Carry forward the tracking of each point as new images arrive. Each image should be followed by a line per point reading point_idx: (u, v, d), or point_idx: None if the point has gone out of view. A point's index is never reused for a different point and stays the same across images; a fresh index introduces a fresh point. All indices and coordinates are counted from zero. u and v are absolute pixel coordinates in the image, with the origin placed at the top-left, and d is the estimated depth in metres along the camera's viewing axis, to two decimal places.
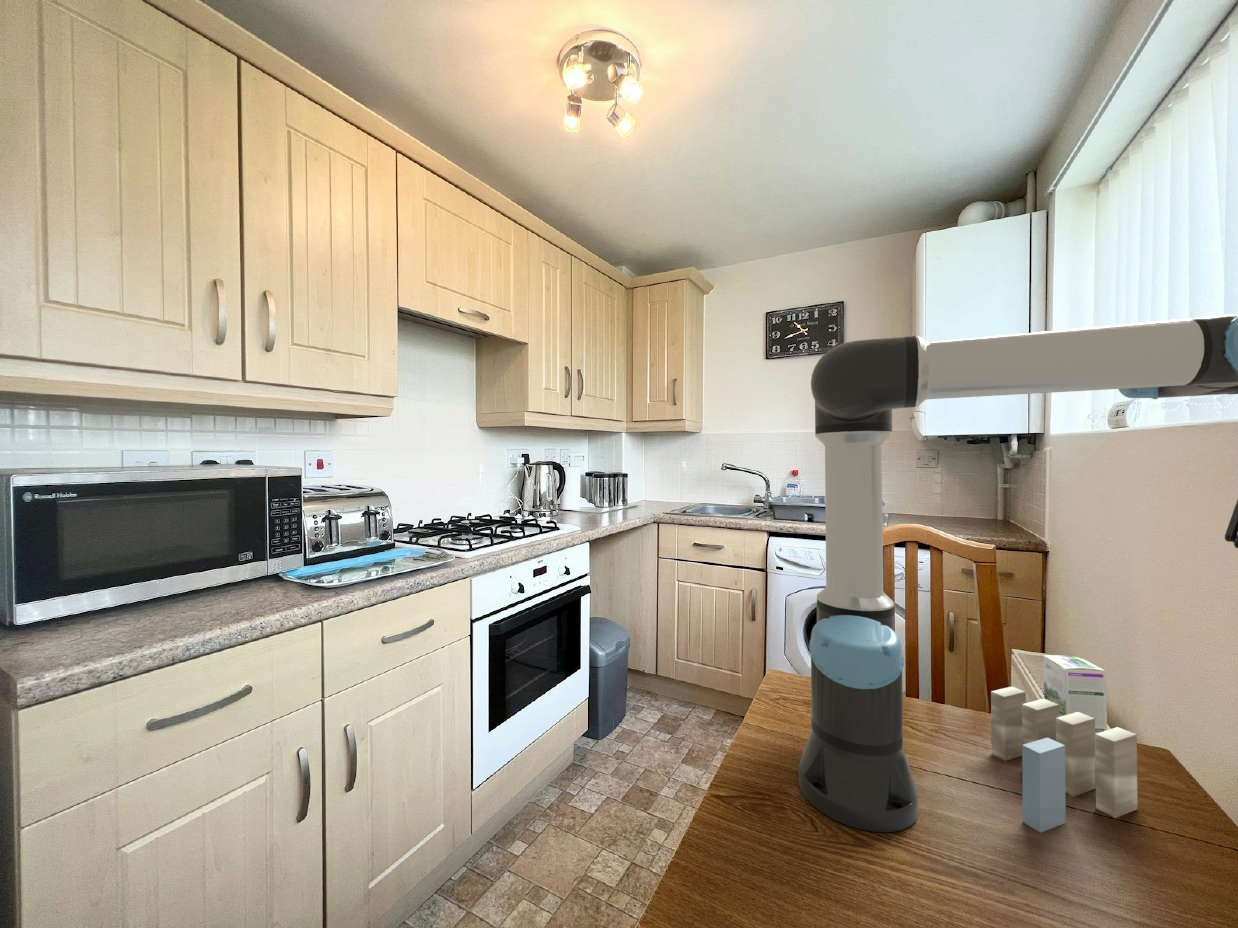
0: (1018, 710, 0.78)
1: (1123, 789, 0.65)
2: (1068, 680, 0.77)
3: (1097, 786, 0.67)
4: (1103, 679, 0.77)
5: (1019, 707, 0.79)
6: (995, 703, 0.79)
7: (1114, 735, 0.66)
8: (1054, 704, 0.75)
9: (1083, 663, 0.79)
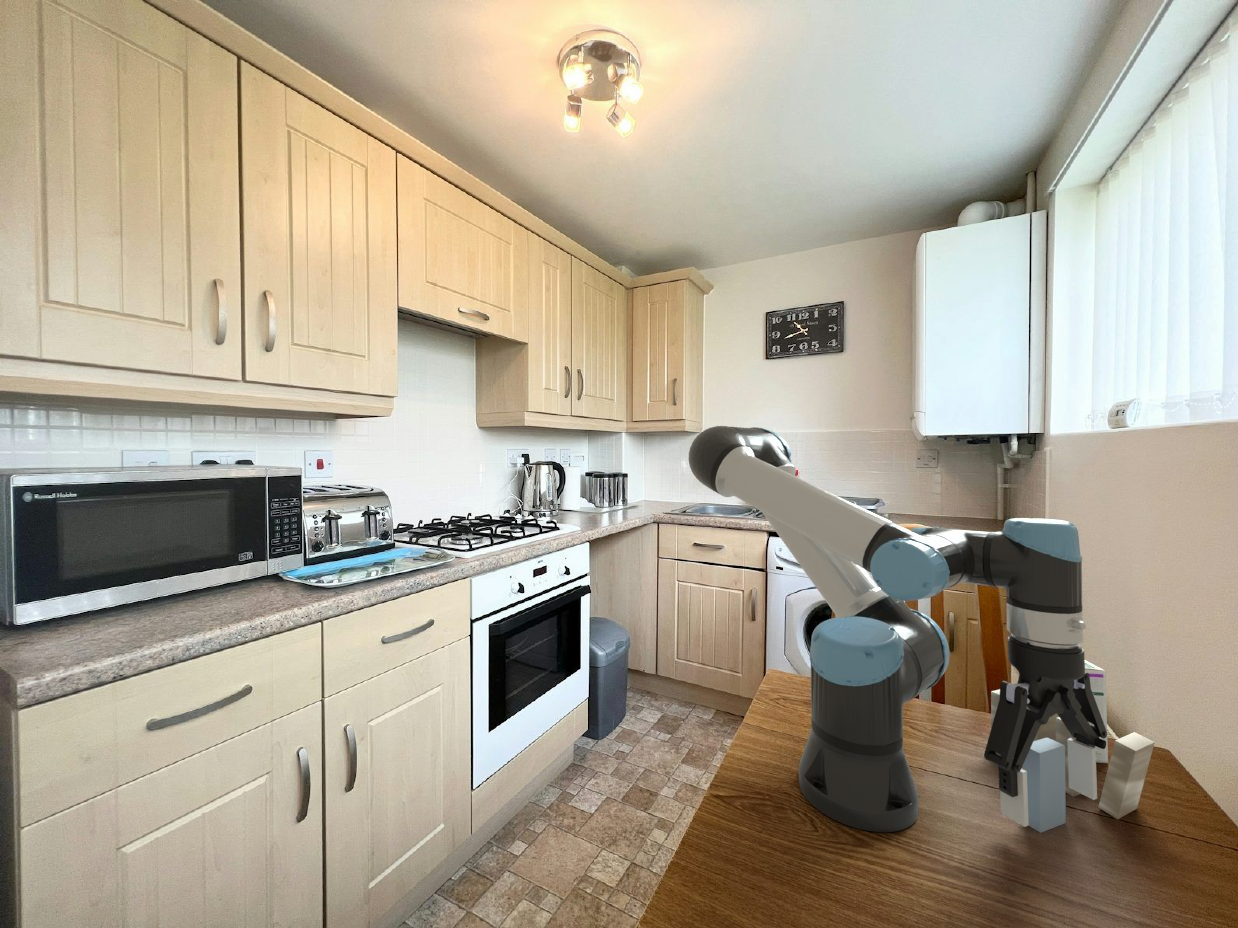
0: None
1: (1130, 793, 0.65)
2: None
3: (1104, 788, 0.66)
4: (1103, 679, 0.77)
5: None
6: (995, 703, 0.79)
7: (1134, 743, 0.64)
8: None
9: None
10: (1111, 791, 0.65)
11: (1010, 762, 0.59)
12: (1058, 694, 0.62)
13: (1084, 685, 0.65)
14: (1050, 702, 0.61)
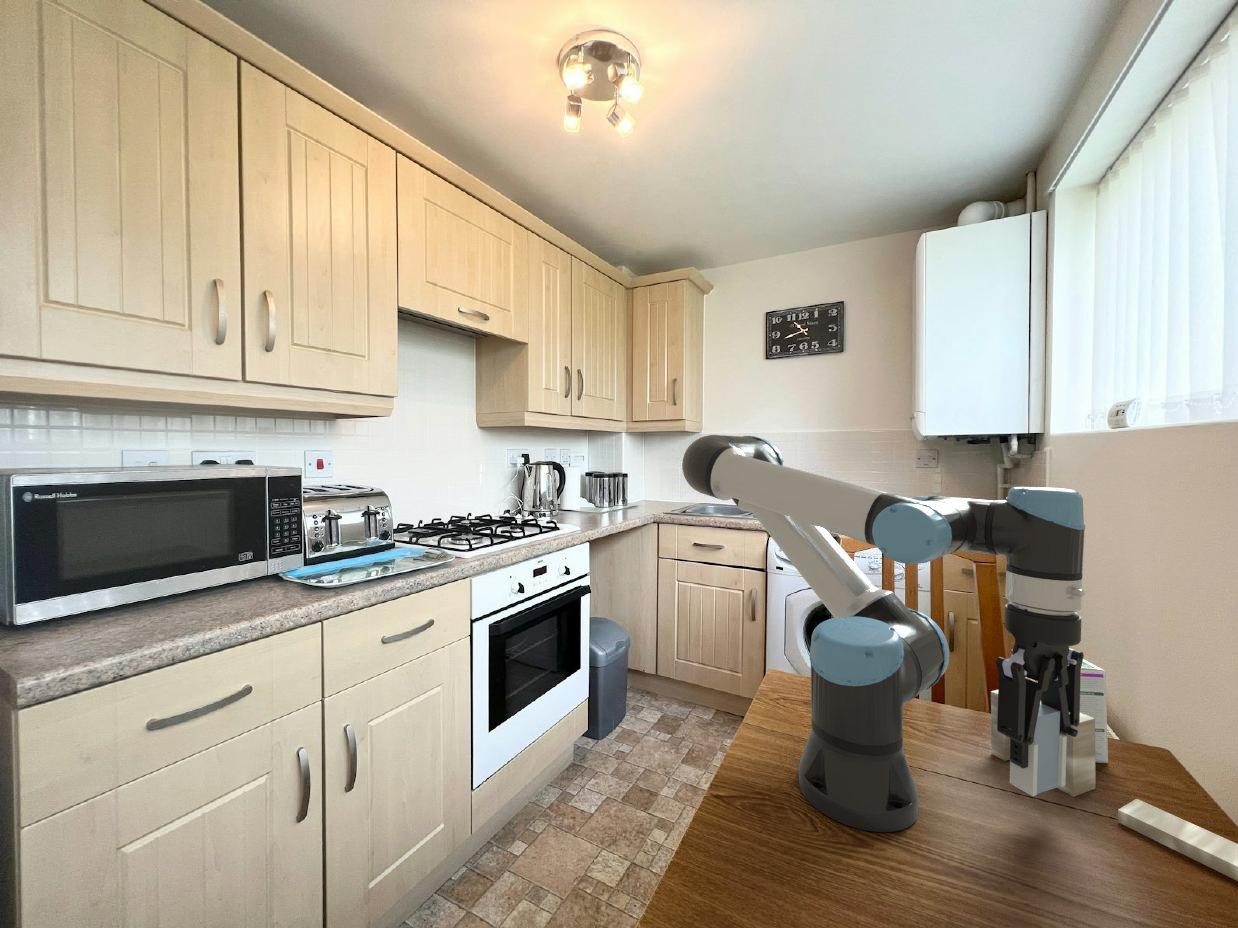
0: None
1: None
2: None
3: (1150, 825, 0.61)
4: (1103, 679, 0.77)
5: None
6: (995, 703, 0.79)
7: None
8: None
9: (1083, 663, 0.79)
10: (1151, 831, 0.61)
11: (1022, 734, 0.61)
12: (1052, 660, 0.62)
13: (1076, 662, 0.65)
14: (1046, 670, 0.62)
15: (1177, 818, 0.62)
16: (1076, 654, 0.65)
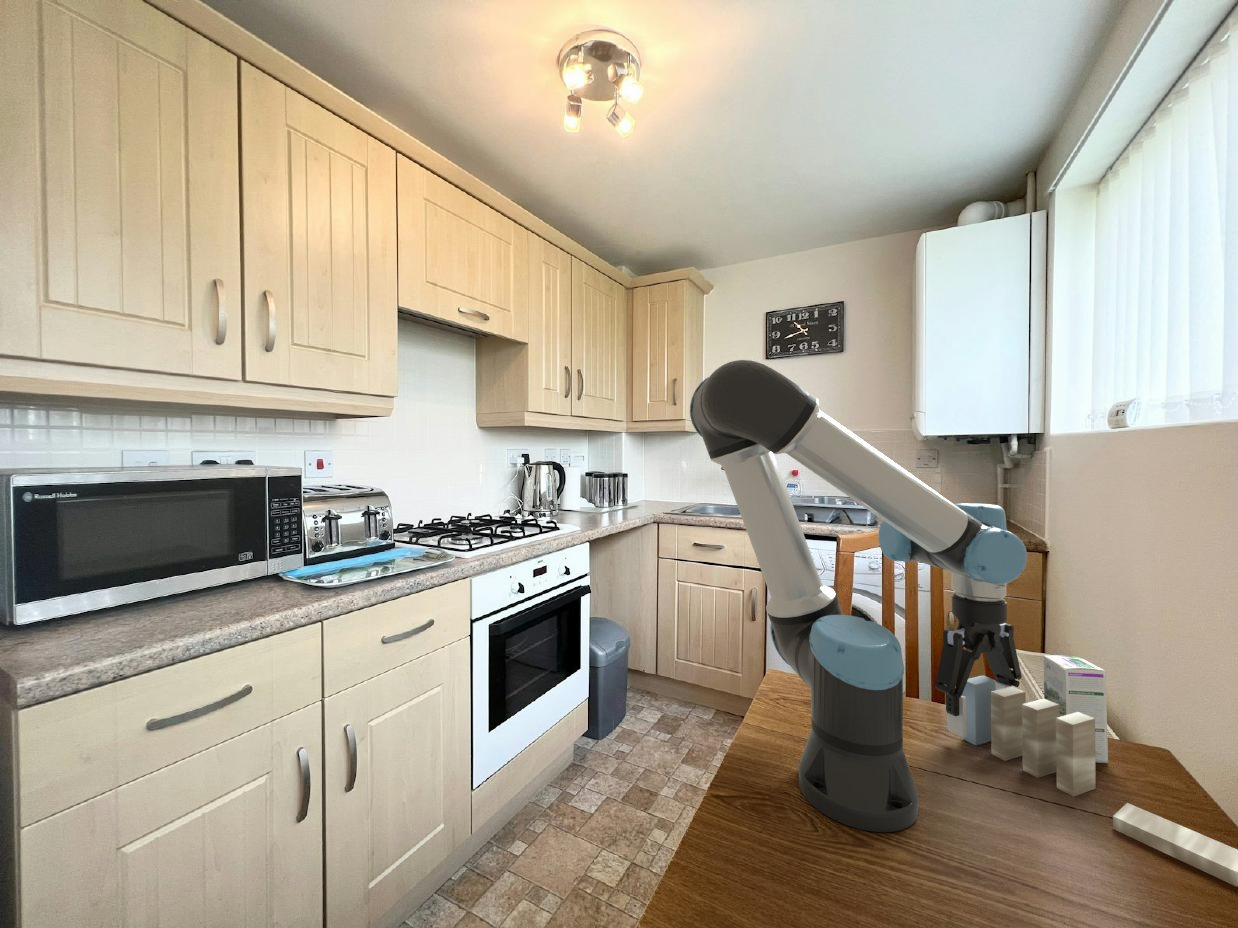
0: (1017, 710, 0.78)
1: None
2: (1068, 680, 0.77)
3: (1146, 832, 0.60)
4: (1103, 679, 0.77)
5: (1019, 707, 0.79)
6: (995, 703, 0.79)
7: None
8: (1054, 704, 0.75)
9: (1083, 663, 0.79)
10: (1147, 838, 0.60)
11: (953, 689, 0.80)
12: (986, 636, 0.81)
13: (1008, 634, 0.84)
14: (980, 642, 0.81)
15: (1169, 822, 0.62)
16: (1007, 628, 0.84)
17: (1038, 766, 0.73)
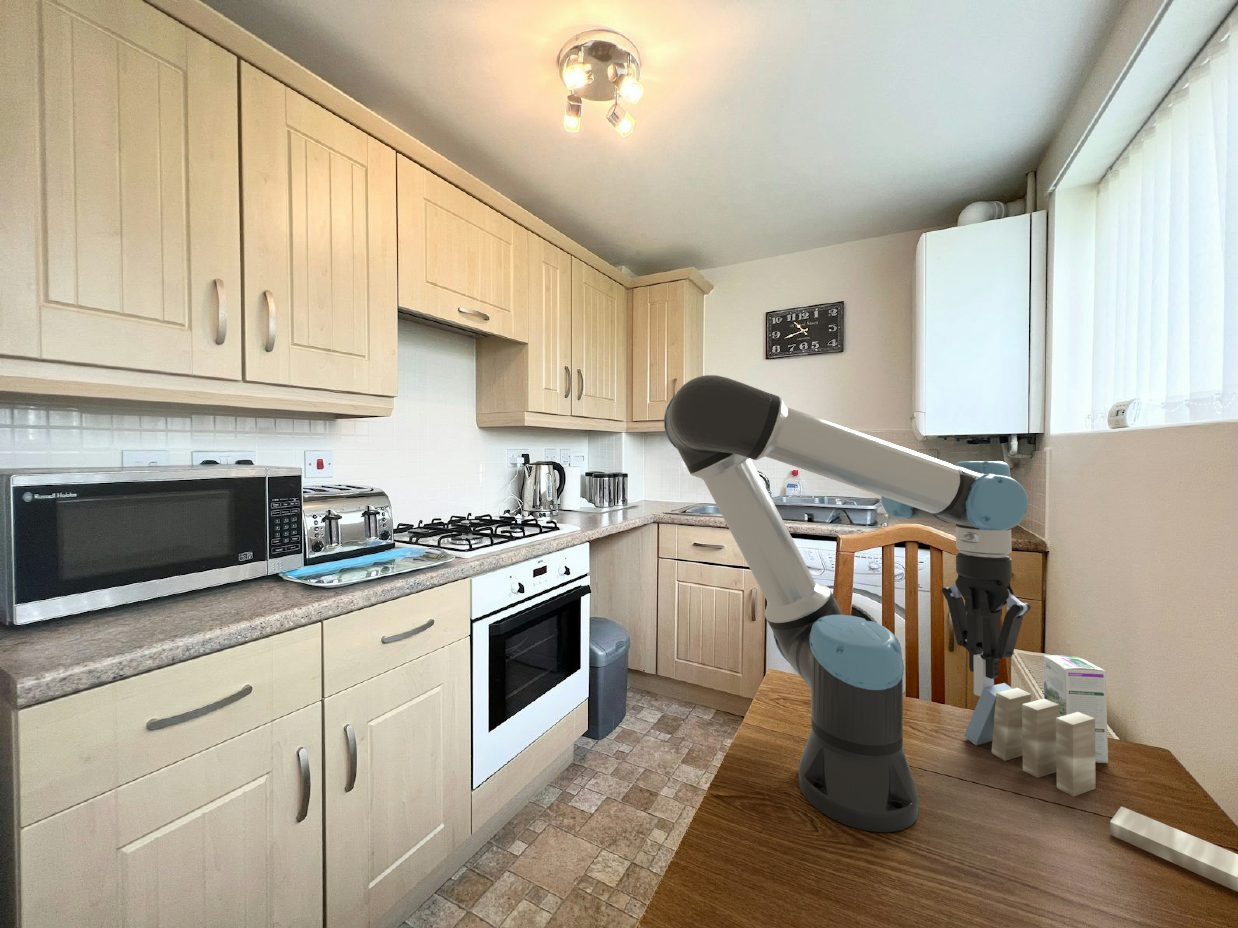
0: None
1: None
2: (1068, 680, 0.77)
3: (1144, 837, 0.59)
4: (1103, 679, 0.77)
5: None
6: (1000, 704, 0.78)
7: None
8: (1054, 704, 0.75)
9: (1083, 663, 0.79)
10: (1145, 843, 0.59)
11: (960, 640, 0.85)
12: (967, 588, 0.83)
13: (1009, 609, 0.78)
14: (965, 596, 0.84)
15: (1164, 825, 0.61)
16: (1014, 604, 0.78)
17: (1038, 766, 0.73)
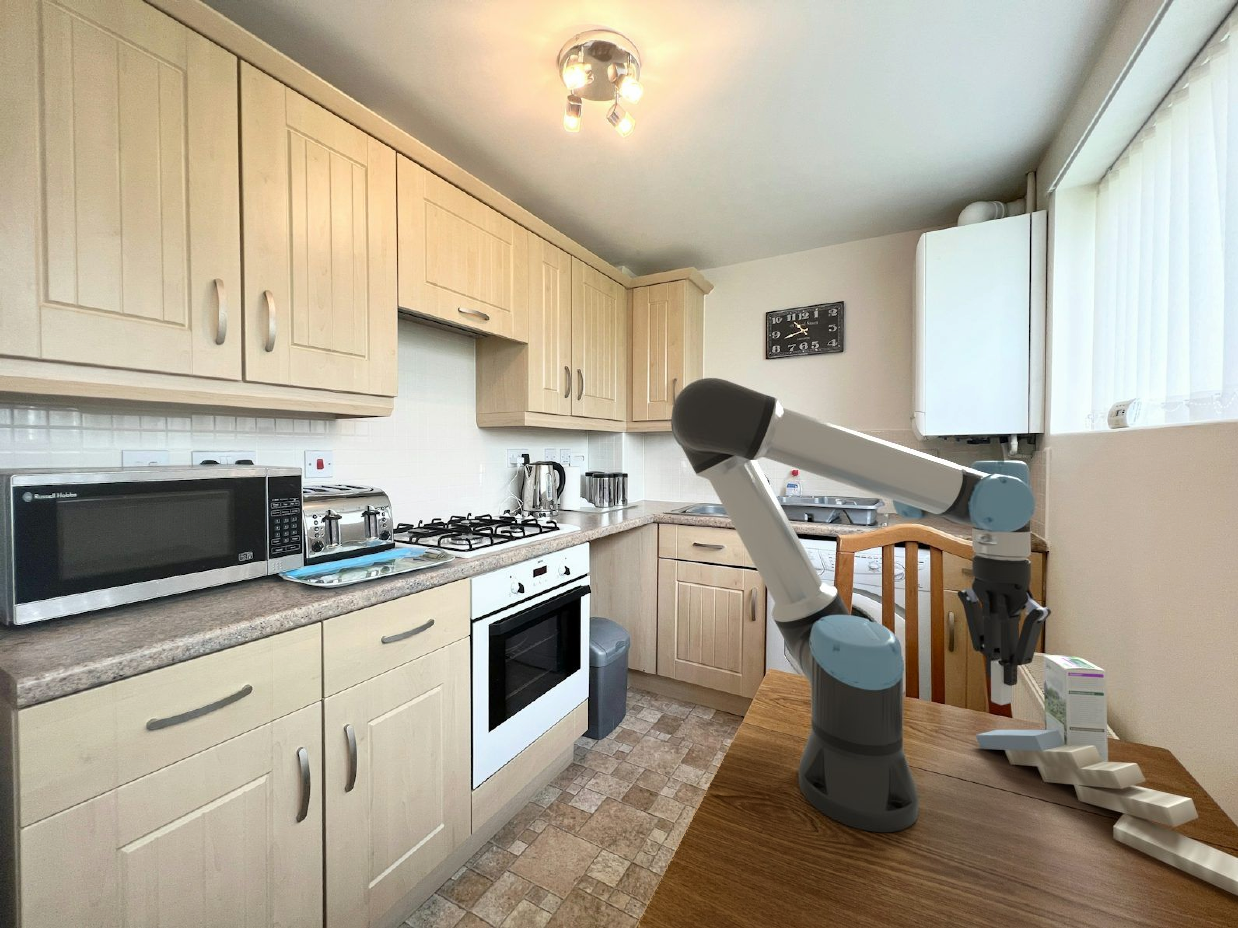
0: None
1: None
2: (1068, 680, 0.77)
3: (1148, 842, 0.59)
4: (1103, 679, 0.77)
5: None
6: (1061, 757, 0.70)
7: None
8: (1141, 779, 0.65)
9: (1083, 663, 0.79)
10: (1149, 849, 0.59)
11: (977, 645, 0.82)
12: (984, 592, 0.81)
13: (1028, 613, 0.75)
14: (982, 600, 0.81)
15: (1169, 830, 0.60)
16: (1033, 609, 0.75)
17: (1056, 782, 0.71)
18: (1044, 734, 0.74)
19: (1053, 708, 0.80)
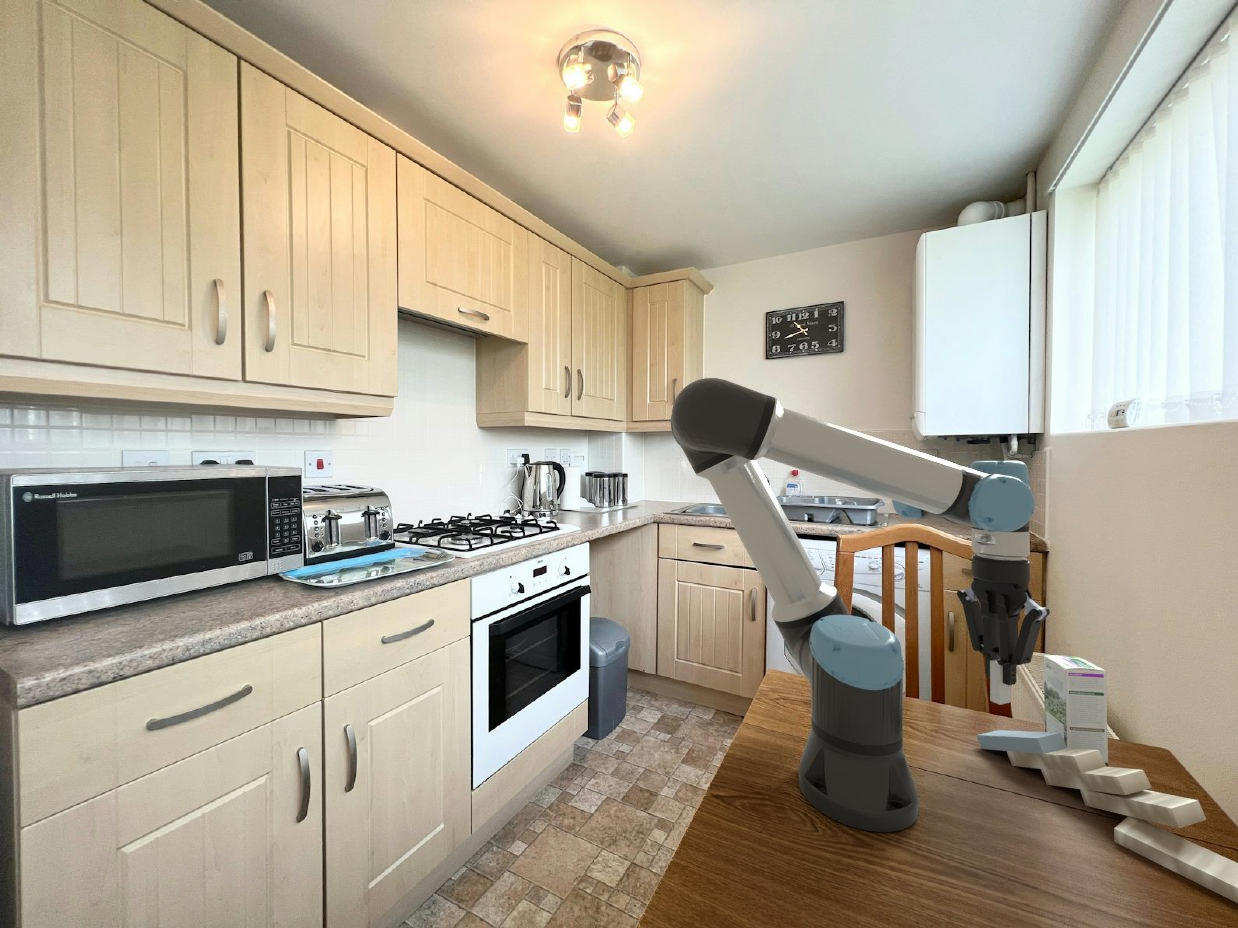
0: None
1: None
2: (1068, 680, 0.77)
3: (1148, 845, 0.58)
4: (1103, 679, 0.77)
5: None
6: (1063, 760, 0.69)
7: None
8: (1147, 786, 0.64)
9: (1083, 663, 0.79)
10: (1149, 852, 0.58)
11: (976, 645, 0.83)
12: (983, 592, 0.81)
13: (1027, 613, 0.75)
14: (981, 600, 0.81)
15: (1174, 835, 0.59)
16: (1032, 609, 0.75)
17: (1059, 785, 0.70)
18: (1046, 737, 0.73)
19: (1053, 707, 0.80)
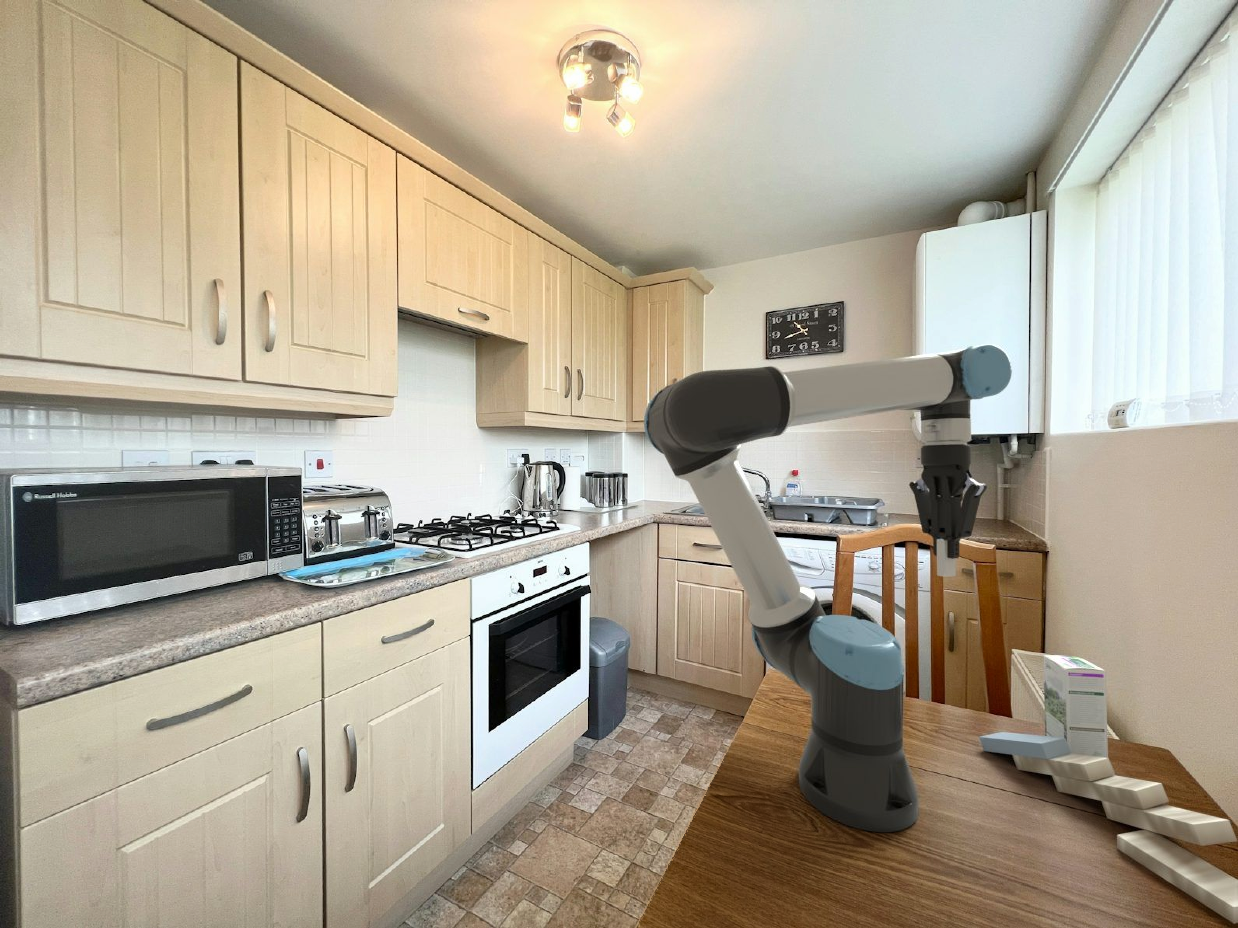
0: None
1: None
2: (1068, 680, 0.77)
3: (1148, 854, 0.57)
4: (1103, 679, 0.77)
5: None
6: (1072, 768, 0.68)
7: None
8: (1165, 800, 0.63)
9: (1083, 663, 0.79)
10: (1148, 861, 0.57)
11: (925, 527, 0.91)
12: (930, 477, 0.89)
13: (967, 489, 0.84)
14: (929, 485, 0.90)
15: (1188, 853, 0.57)
16: None
17: (1071, 793, 0.69)
18: (1050, 742, 0.72)
19: (1053, 707, 0.80)
